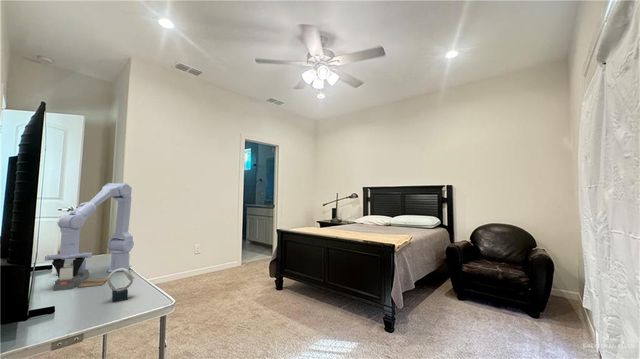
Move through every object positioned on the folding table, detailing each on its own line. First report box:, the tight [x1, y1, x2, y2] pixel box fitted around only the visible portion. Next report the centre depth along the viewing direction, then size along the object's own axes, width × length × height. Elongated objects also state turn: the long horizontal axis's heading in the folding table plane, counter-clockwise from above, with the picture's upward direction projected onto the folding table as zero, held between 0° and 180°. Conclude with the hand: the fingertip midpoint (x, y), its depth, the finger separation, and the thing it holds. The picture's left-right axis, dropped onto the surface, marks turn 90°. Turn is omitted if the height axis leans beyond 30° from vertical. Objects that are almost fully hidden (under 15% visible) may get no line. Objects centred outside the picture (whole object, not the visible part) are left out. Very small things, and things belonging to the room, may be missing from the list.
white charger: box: [58, 266, 75, 280], centre depth 110 cm, size 4×4×6 cm
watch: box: [106, 268, 135, 304], centre depth 99 cm, size 6×8×11 cm
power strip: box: [52, 268, 90, 292], centre depth 117 cm, size 24×6×4 cm, turn 24°
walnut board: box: [77, 277, 108, 289], centre depth 114 cm, size 9×8×1 cm
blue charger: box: [71, 259, 87, 273], centre depth 119 cm, size 4×4×6 cm
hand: (67, 276), depth 110 cm, fingers closed on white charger, 4 cm apart
